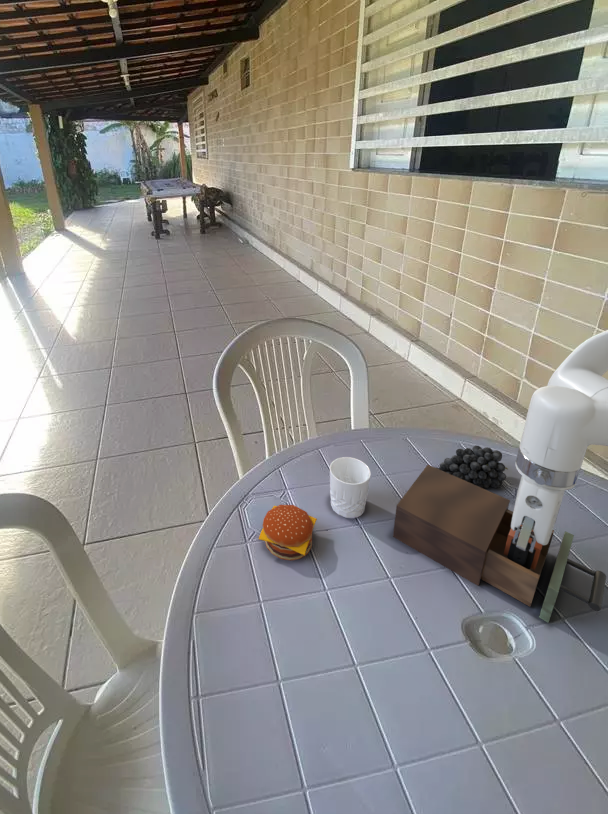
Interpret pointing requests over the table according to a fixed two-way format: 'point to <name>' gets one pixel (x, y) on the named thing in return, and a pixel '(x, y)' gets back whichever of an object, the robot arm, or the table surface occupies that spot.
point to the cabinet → (449, 521)
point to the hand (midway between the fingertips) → (522, 551)
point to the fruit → (476, 466)
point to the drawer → (535, 572)
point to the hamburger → (288, 532)
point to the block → (537, 546)
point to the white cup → (349, 486)
